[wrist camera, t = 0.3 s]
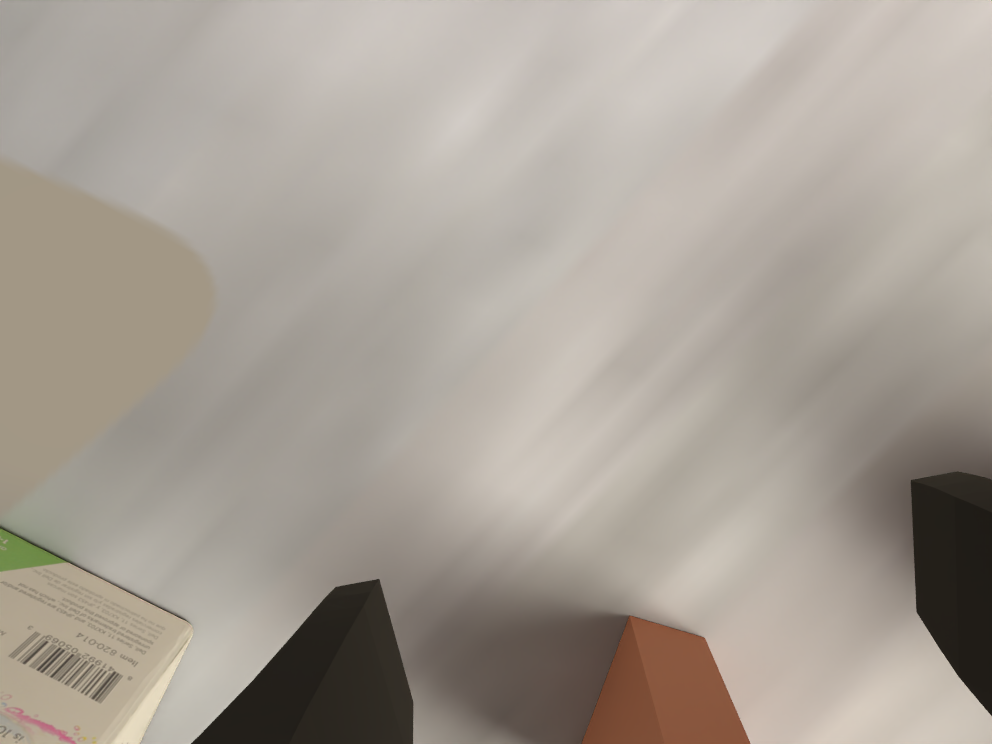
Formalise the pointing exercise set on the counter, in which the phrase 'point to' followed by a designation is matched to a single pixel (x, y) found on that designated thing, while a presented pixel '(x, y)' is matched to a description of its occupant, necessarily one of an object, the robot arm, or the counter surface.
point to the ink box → (78, 653)
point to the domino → (663, 692)
